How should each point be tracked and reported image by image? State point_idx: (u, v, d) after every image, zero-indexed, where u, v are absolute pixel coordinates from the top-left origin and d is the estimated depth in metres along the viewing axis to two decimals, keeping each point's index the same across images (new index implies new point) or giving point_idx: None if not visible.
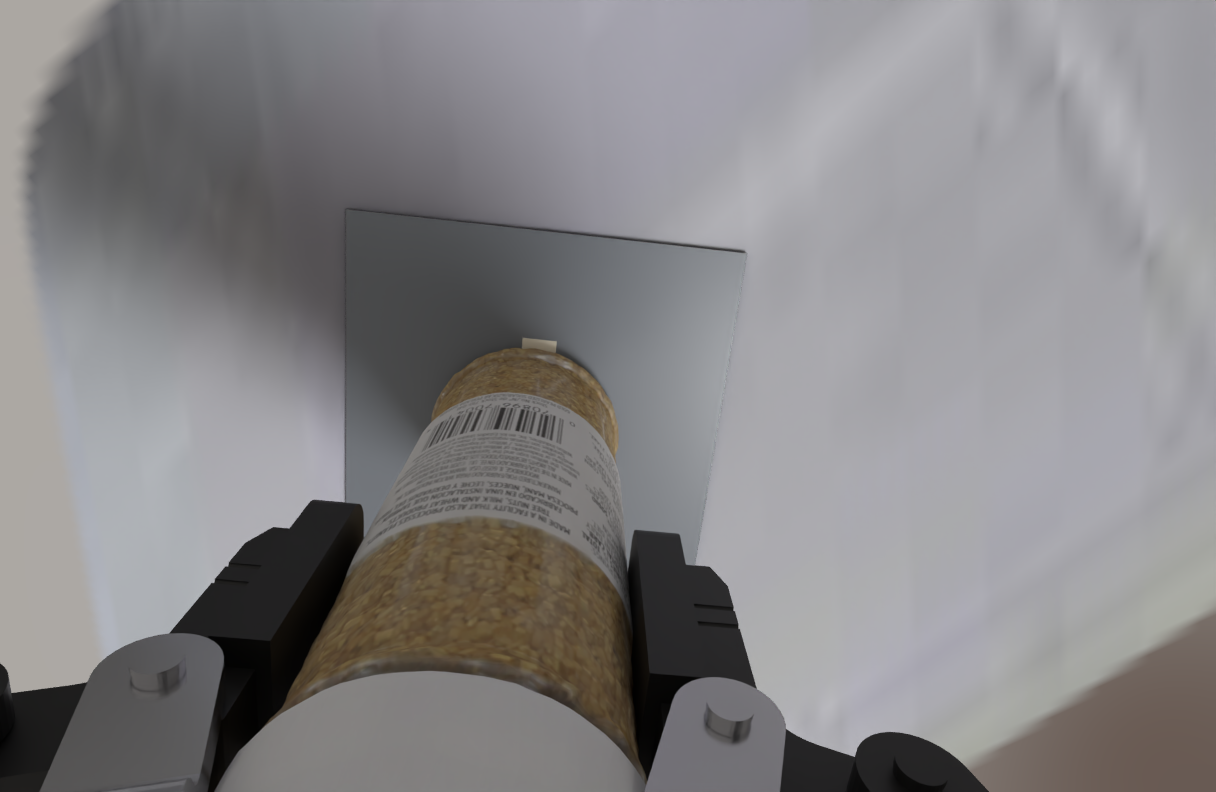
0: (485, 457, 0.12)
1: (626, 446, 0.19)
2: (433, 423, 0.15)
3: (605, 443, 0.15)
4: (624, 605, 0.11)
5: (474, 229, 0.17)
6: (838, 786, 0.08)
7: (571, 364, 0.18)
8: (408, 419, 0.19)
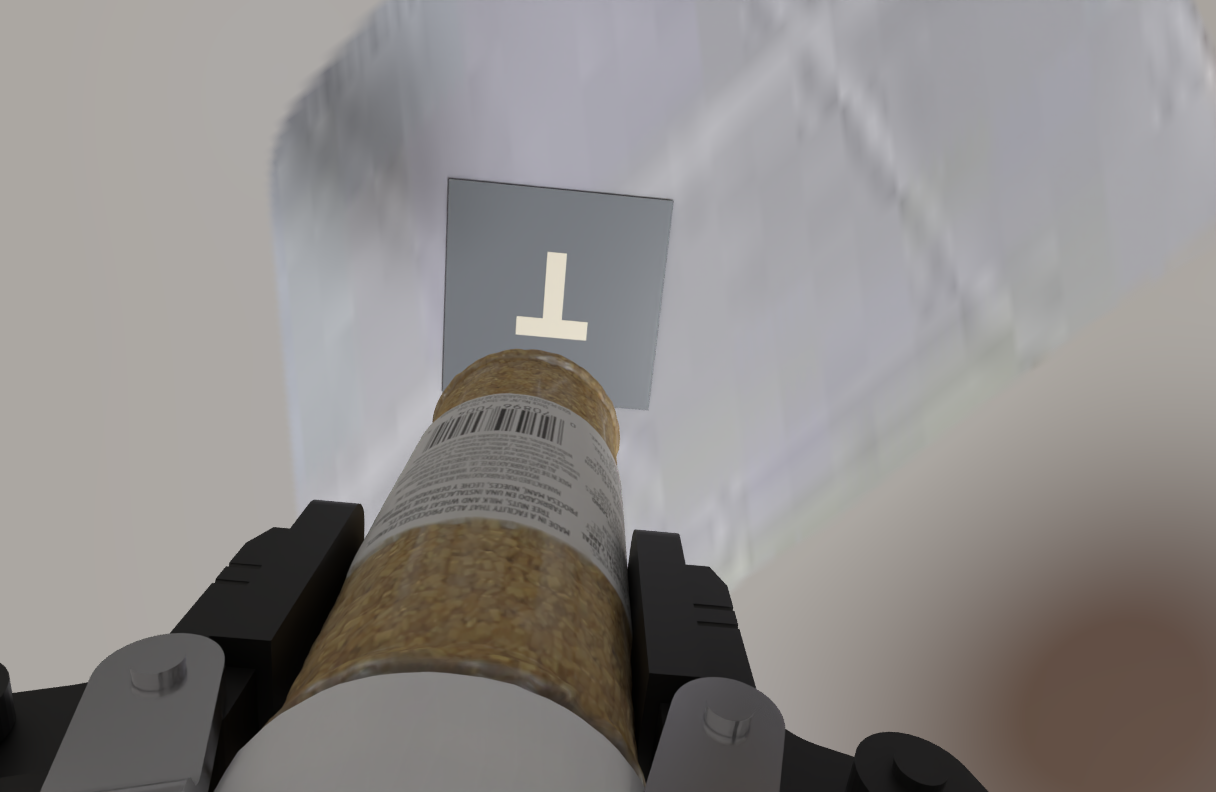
0: (485, 458, 0.12)
1: (608, 317, 0.33)
2: (434, 424, 0.15)
3: (606, 444, 0.15)
4: (624, 606, 0.11)
5: (520, 188, 0.31)
6: (838, 786, 0.08)
7: (572, 365, 0.18)
8: (481, 301, 0.33)
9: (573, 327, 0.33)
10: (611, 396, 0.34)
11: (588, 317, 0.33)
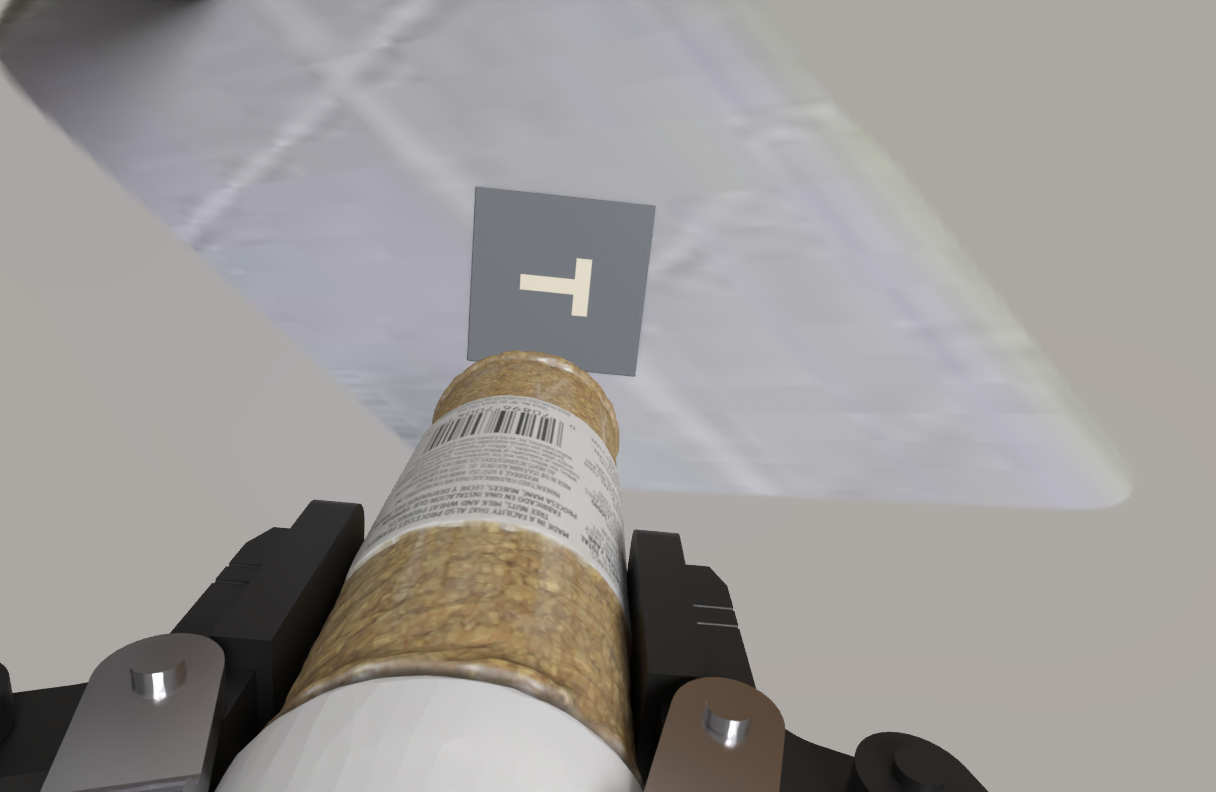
0: (485, 461, 0.12)
1: (573, 240, 0.40)
2: (434, 426, 0.15)
3: (605, 446, 0.15)
4: (623, 609, 0.11)
5: (472, 307, 0.41)
6: (837, 786, 0.08)
7: (572, 367, 0.18)
8: (560, 341, 0.41)
9: (581, 269, 0.40)
10: (642, 238, 0.40)
11: (572, 257, 0.40)
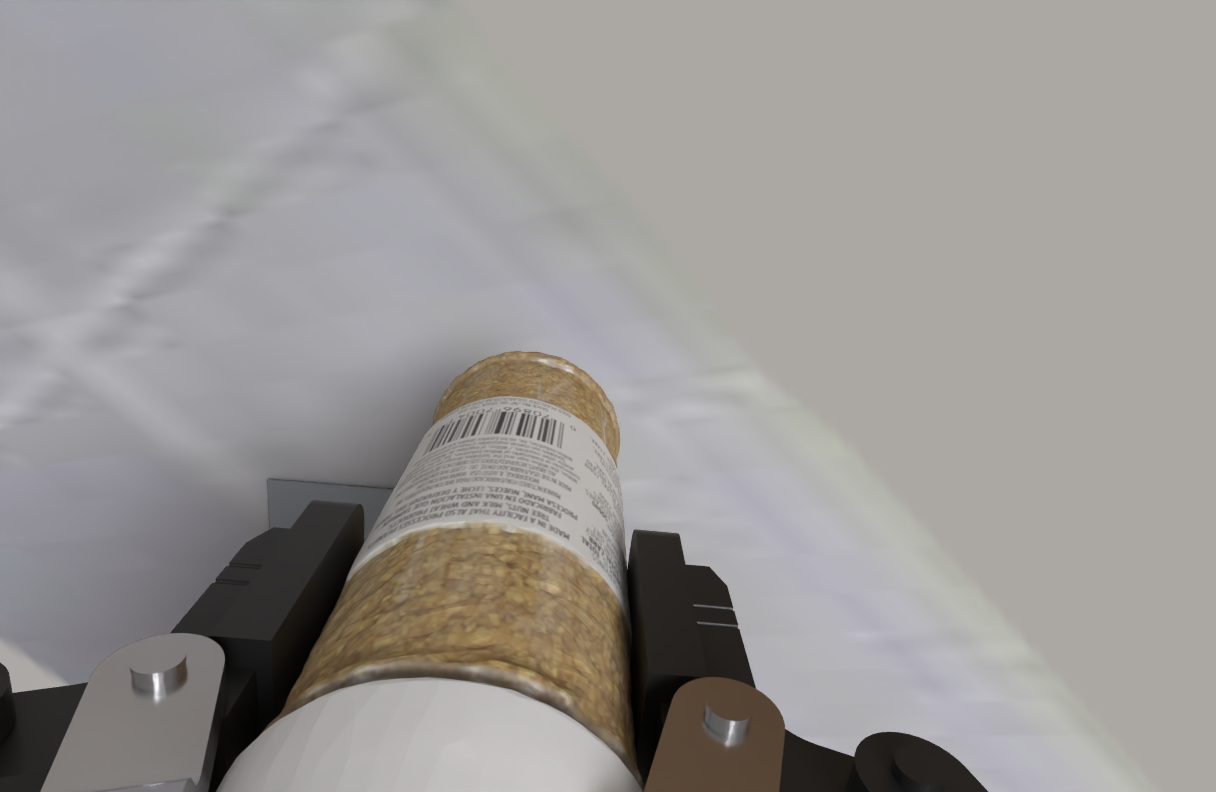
0: (485, 462, 0.12)
1: None
2: (434, 427, 0.15)
3: (606, 447, 0.15)
4: (623, 610, 0.11)
5: None
6: (837, 786, 0.08)
7: (572, 368, 0.18)
8: None
9: None
10: None
11: None
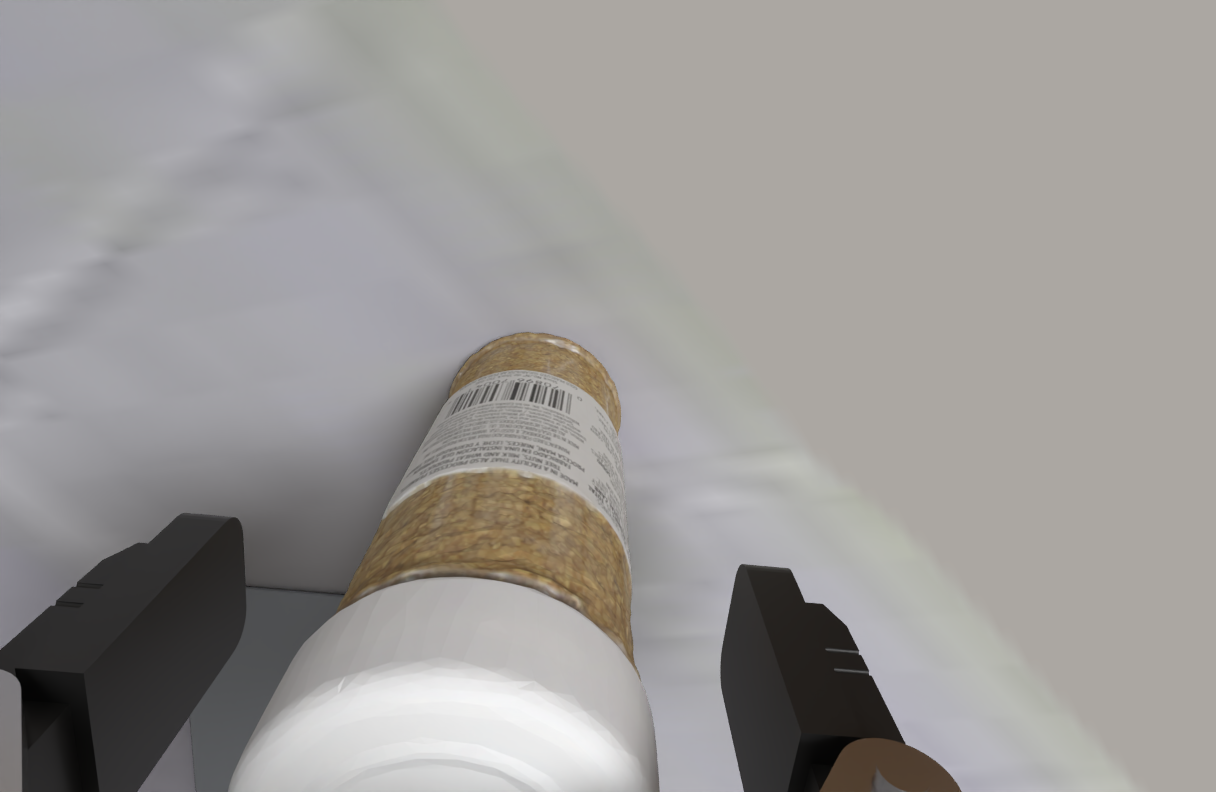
0: (503, 422, 0.14)
1: None
2: (453, 396, 0.16)
3: (609, 418, 0.17)
4: (624, 549, 0.12)
5: (196, 755, 0.24)
6: None
7: (578, 348, 0.19)
8: None
9: None
10: None
11: None
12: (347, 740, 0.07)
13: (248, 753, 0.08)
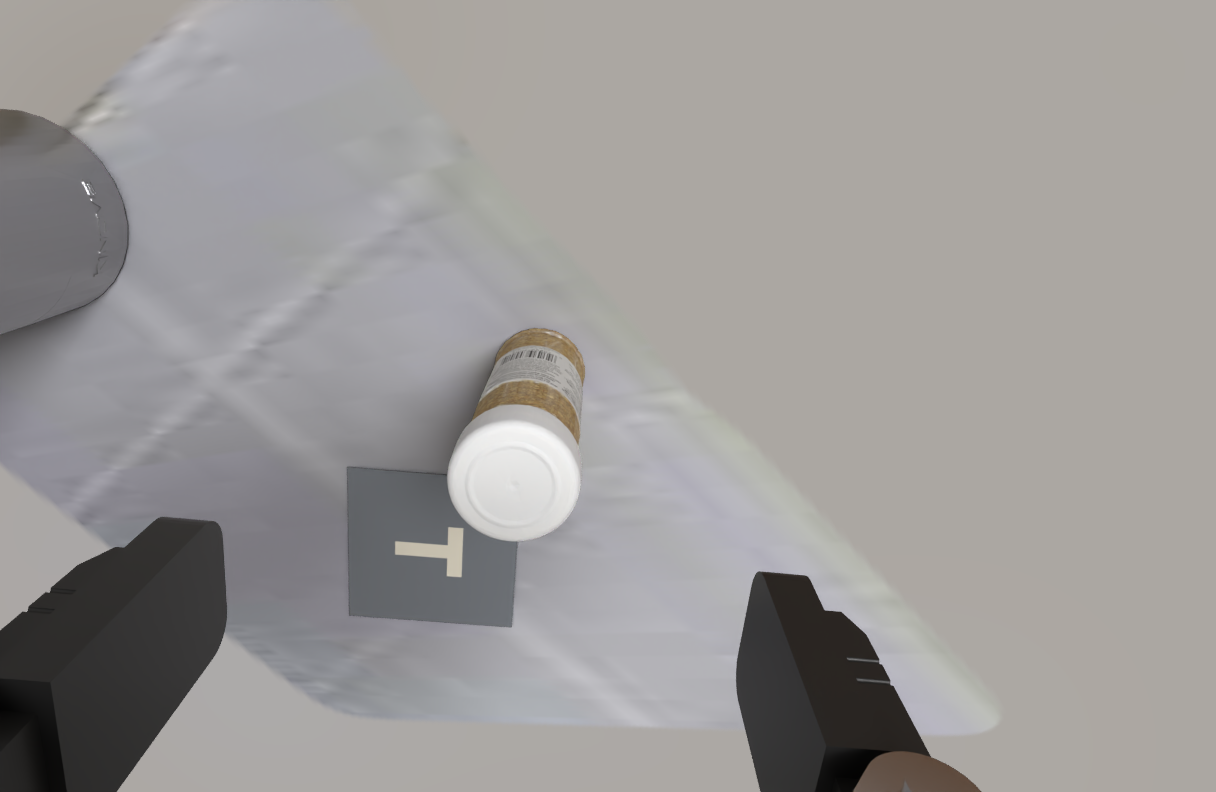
0: (526, 365, 0.32)
1: (444, 511, 0.41)
2: (501, 358, 0.35)
3: (575, 368, 0.35)
4: (576, 413, 0.31)
5: (350, 570, 0.42)
6: None
7: (561, 336, 0.38)
8: (438, 598, 0.43)
9: (453, 536, 0.42)
10: None
11: (443, 526, 0.41)
12: (487, 441, 0.26)
13: (457, 448, 0.26)
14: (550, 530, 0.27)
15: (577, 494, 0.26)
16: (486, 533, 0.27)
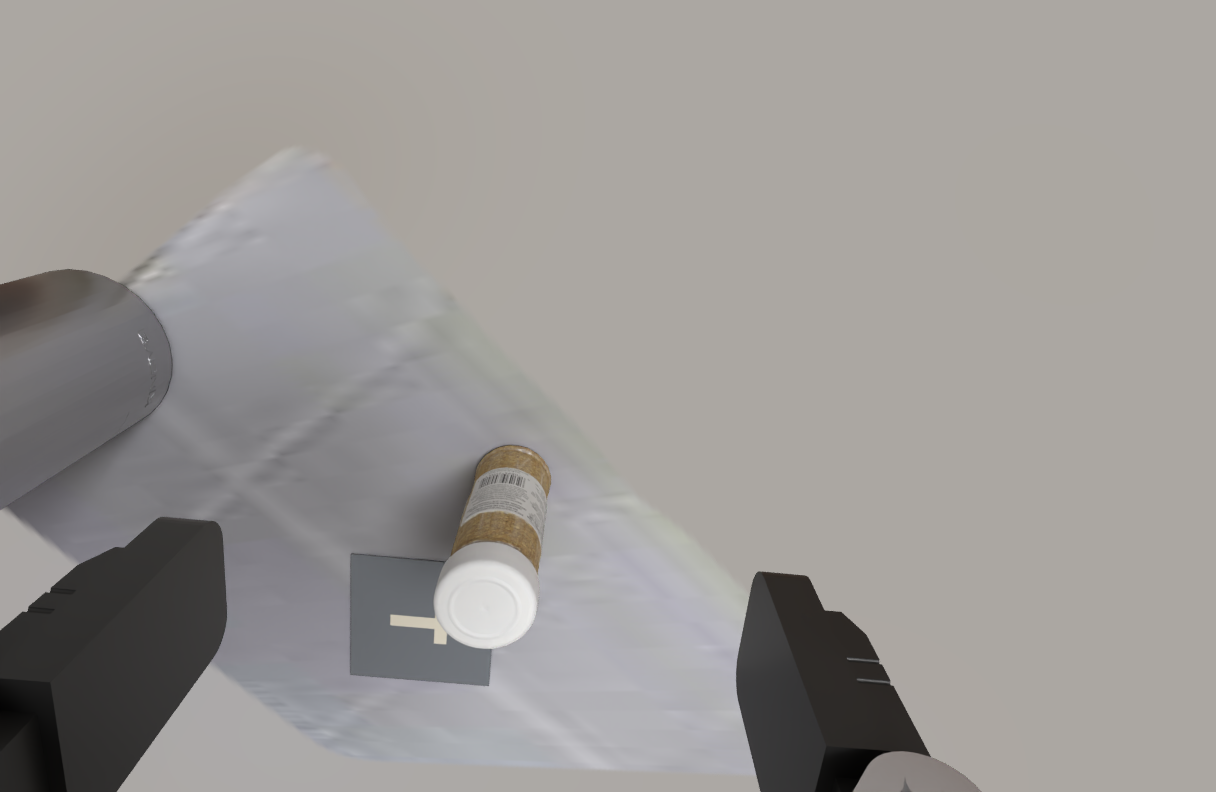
0: (499, 493, 0.39)
1: (432, 590, 0.49)
2: (480, 478, 0.42)
3: (541, 486, 0.43)
4: (538, 536, 0.38)
5: (352, 638, 0.50)
6: None
7: (531, 452, 0.45)
8: (426, 661, 0.51)
9: None
10: None
11: (431, 602, 0.49)
12: (465, 575, 0.33)
13: (441, 580, 0.33)
14: (513, 641, 0.34)
15: (534, 614, 0.34)
16: (463, 643, 0.34)
